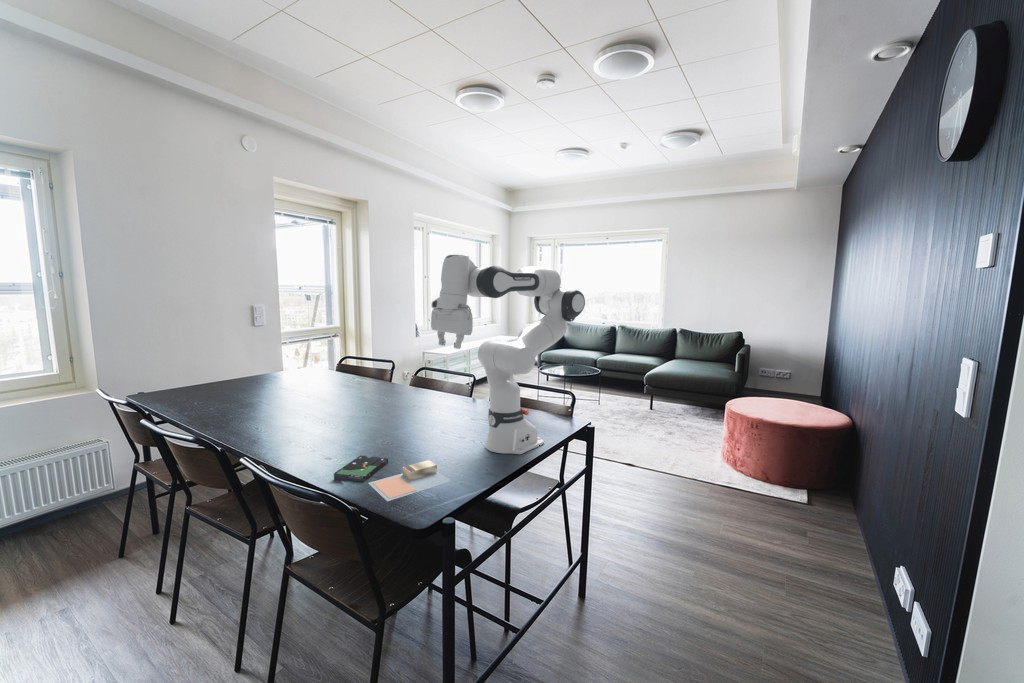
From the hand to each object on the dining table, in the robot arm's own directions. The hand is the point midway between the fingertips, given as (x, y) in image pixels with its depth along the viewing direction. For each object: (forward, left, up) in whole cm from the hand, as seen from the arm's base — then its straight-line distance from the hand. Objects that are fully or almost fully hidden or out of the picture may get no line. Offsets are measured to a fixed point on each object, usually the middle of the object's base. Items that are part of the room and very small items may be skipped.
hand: (449, 346), depth 138 cm
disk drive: (+26, -10, -40) cm, 48 cm away
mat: (+18, +7, -39) cm, 43 cm away
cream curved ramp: (+13, +4, -38) cm, 40 cm away
